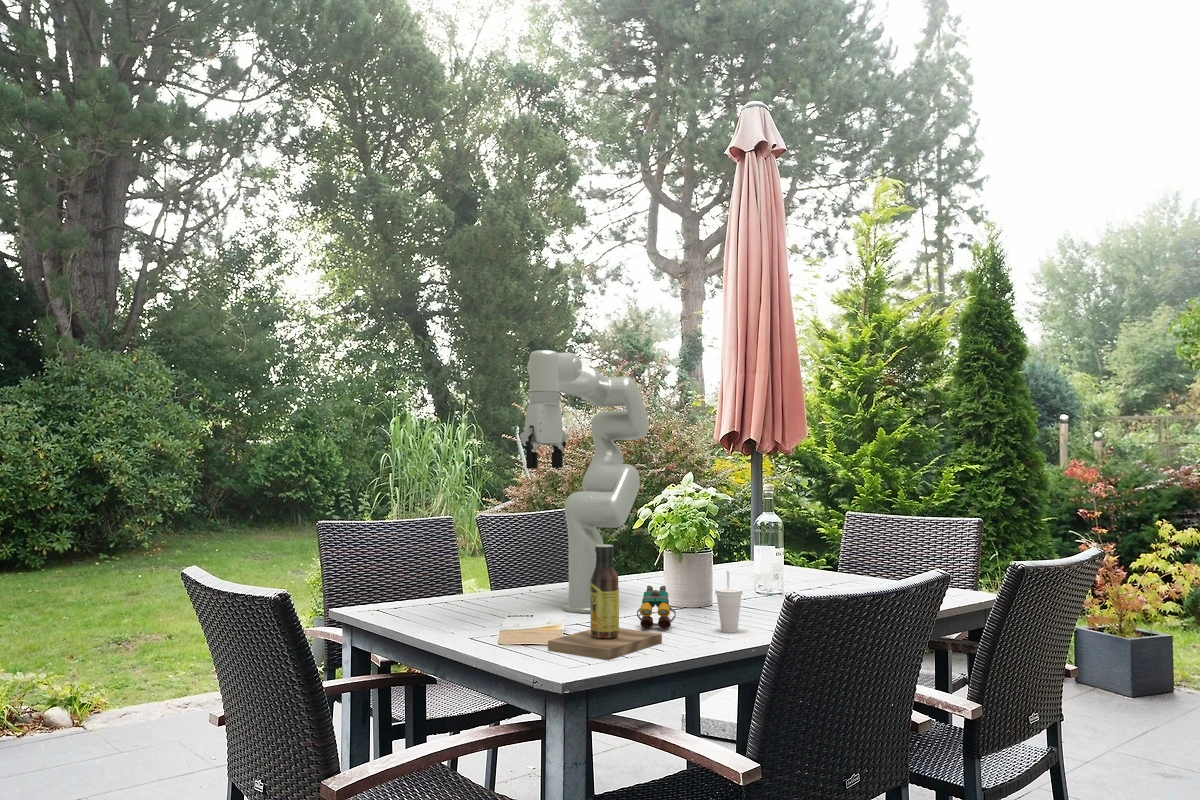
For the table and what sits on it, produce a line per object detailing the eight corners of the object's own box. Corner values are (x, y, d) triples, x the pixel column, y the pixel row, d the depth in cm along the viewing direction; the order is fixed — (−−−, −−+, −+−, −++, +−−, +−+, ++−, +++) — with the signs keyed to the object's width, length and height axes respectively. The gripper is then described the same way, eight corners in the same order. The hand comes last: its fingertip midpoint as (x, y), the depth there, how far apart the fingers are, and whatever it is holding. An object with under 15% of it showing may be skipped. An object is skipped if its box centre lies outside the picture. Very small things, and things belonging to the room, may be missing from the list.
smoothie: (713, 633, 210) (712, 572, 210) (719, 627, 216) (718, 568, 216) (740, 634, 207) (739, 573, 208) (745, 629, 213) (744, 569, 214)
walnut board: (603, 634, 208) (603, 625, 209) (661, 642, 199) (661, 633, 199) (548, 650, 192) (548, 640, 193) (608, 659, 183) (608, 649, 183)
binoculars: (636, 637, 216) (634, 605, 211) (638, 610, 224) (636, 579, 219) (675, 637, 215) (674, 605, 210) (676, 610, 223) (675, 579, 218)
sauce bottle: (591, 634, 199) (590, 543, 200) (619, 634, 199) (618, 543, 200) (589, 640, 193) (589, 546, 194) (619, 640, 192) (618, 546, 194)
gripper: (554, 401, 235) (555, 467, 234) (510, 398, 221) (510, 468, 220) (577, 400, 231) (577, 467, 230) (533, 397, 217) (533, 468, 216)
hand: (544, 468), depth 225 cm, fingers open, 9 cm apart
